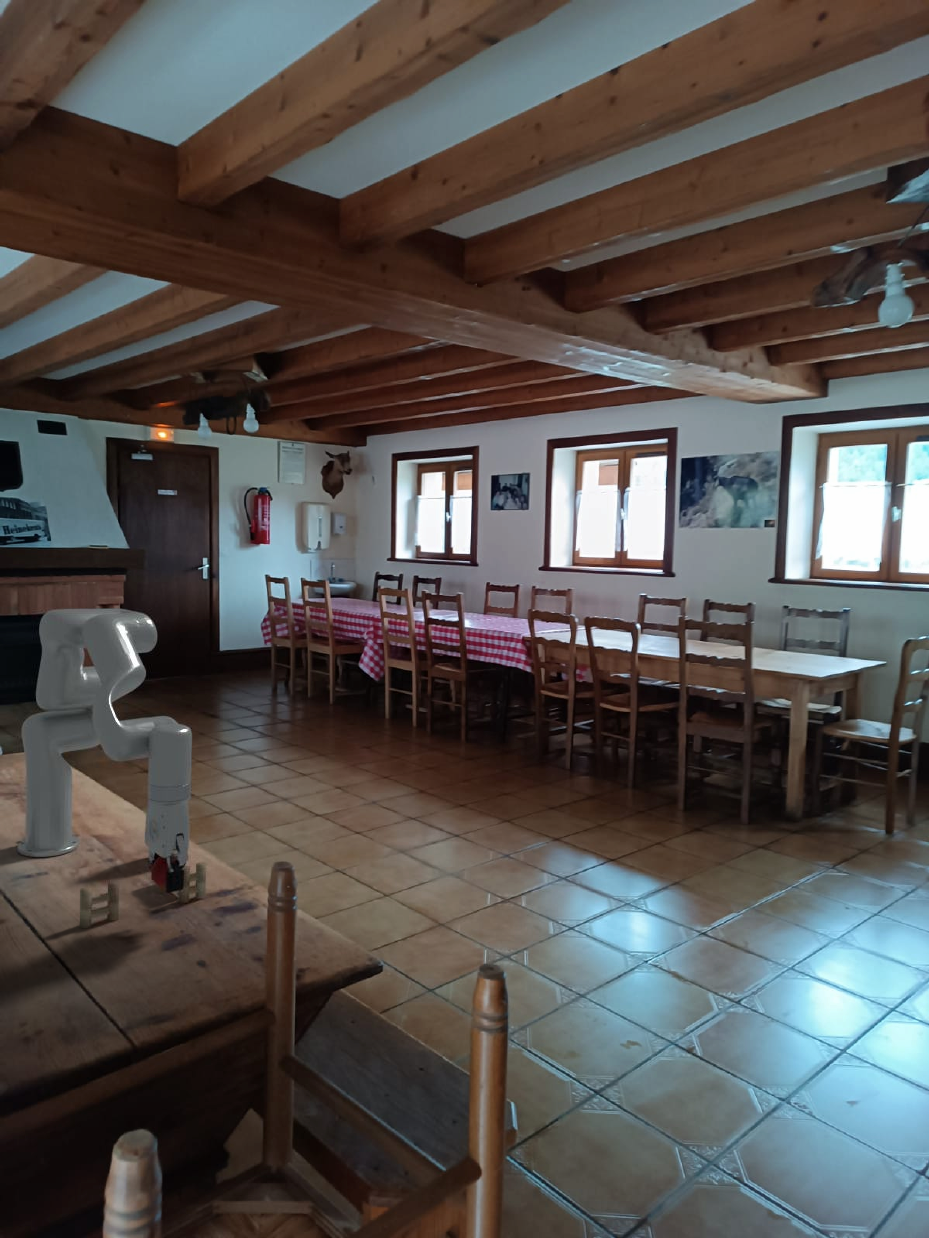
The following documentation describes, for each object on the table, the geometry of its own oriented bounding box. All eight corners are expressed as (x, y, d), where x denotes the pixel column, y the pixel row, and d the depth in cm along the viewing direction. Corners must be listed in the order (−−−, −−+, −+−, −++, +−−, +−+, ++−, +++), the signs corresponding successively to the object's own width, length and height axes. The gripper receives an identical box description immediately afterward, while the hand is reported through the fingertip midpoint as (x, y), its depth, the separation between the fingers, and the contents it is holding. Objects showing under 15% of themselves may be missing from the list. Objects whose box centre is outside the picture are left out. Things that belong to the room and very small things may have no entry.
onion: (189, 887, 162) (191, 846, 161) (170, 898, 156) (171, 856, 156) (164, 881, 164) (165, 841, 163) (144, 892, 158) (145, 850, 158)
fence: (78, 924, 159) (78, 888, 158) (202, 894, 175) (203, 861, 175) (81, 928, 157) (82, 892, 157) (207, 897, 174) (208, 864, 173)
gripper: (131, 782, 162) (130, 874, 164) (168, 806, 150) (166, 905, 151) (170, 777, 167) (168, 866, 169) (209, 799, 155) (206, 895, 156)
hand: (167, 883), depth 160 cm, fingers closed on onion, 5 cm apart
